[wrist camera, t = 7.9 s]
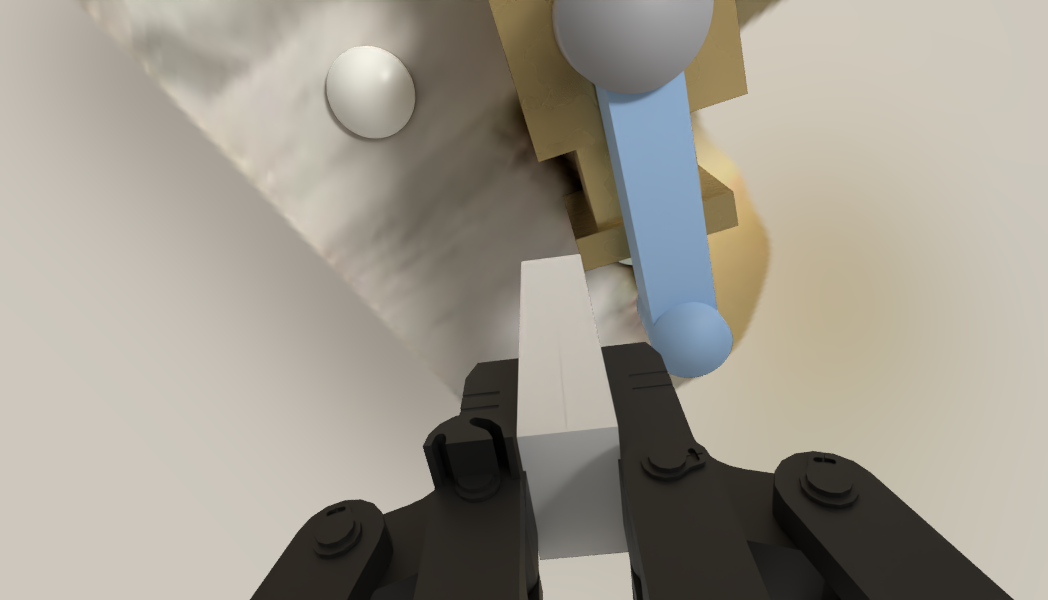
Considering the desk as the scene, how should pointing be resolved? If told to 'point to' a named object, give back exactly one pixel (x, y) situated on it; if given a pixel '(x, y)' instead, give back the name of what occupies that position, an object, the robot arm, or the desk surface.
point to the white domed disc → (370, 92)
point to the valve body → (576, 123)
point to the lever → (654, 162)
